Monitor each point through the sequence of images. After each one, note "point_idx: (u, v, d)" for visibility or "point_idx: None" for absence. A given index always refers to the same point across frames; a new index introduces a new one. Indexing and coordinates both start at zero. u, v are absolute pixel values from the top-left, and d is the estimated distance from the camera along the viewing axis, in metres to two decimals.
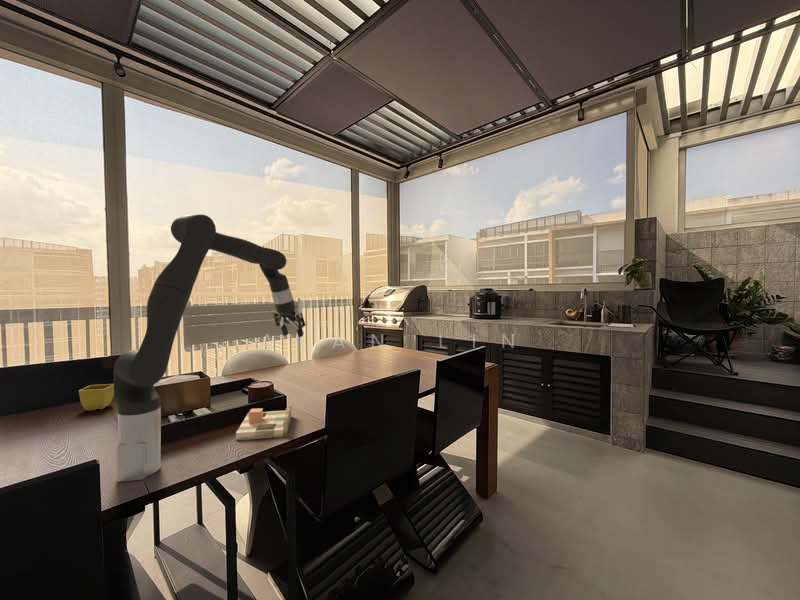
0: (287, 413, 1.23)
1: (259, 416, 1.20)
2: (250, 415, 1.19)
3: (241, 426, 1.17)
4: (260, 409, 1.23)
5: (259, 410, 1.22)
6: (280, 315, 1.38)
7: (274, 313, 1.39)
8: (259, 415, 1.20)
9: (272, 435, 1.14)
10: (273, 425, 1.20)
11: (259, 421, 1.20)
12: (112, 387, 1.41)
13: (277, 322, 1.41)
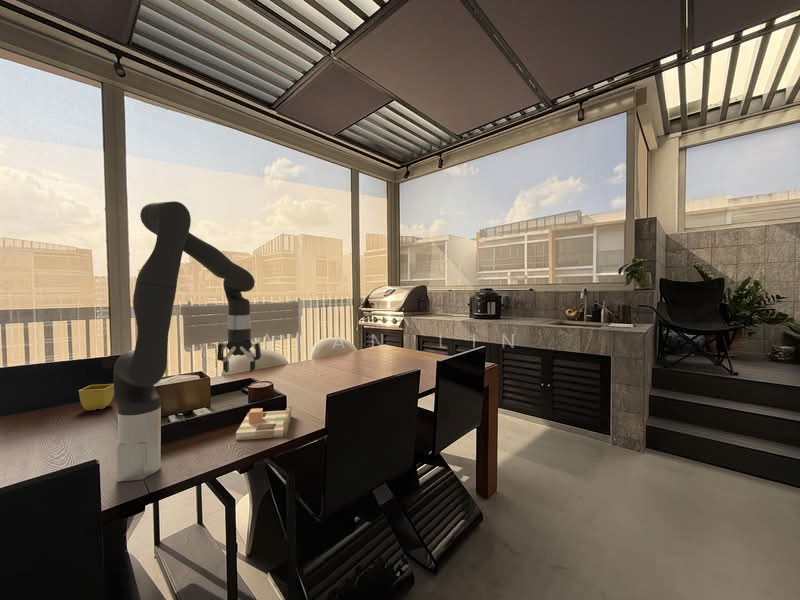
0: (287, 413, 1.23)
1: (259, 416, 1.20)
2: (250, 415, 1.19)
3: (241, 426, 1.17)
4: (260, 409, 1.23)
5: (259, 410, 1.22)
6: (229, 345, 1.20)
7: (220, 343, 1.19)
8: (259, 415, 1.20)
9: (272, 435, 1.14)
10: (273, 425, 1.20)
11: (259, 421, 1.20)
12: (112, 387, 1.41)
13: (221, 355, 1.19)
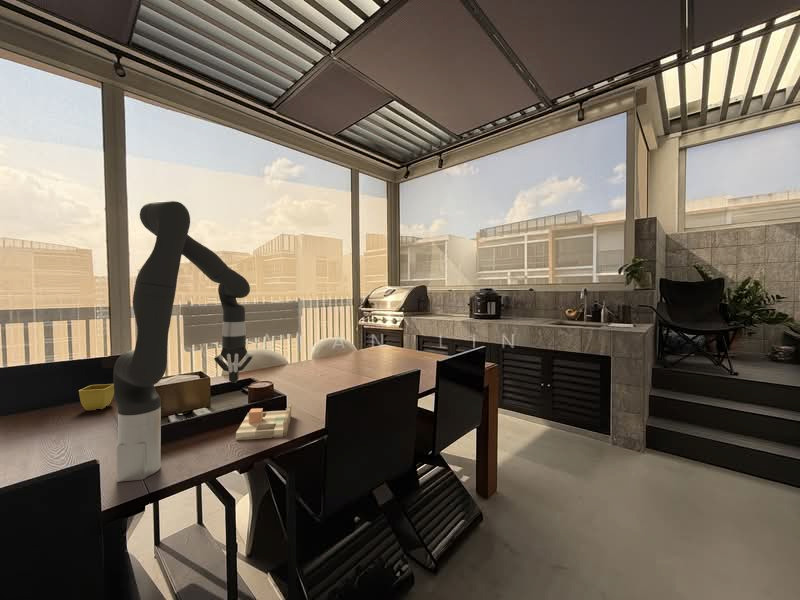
0: (287, 413, 1.23)
1: (259, 416, 1.20)
2: (250, 415, 1.19)
3: (241, 426, 1.17)
4: (260, 409, 1.23)
5: (259, 410, 1.22)
6: (224, 352, 1.18)
7: (215, 357, 1.17)
8: (259, 415, 1.20)
9: (272, 435, 1.14)
10: (273, 425, 1.20)
11: (259, 421, 1.20)
12: (112, 387, 1.41)
13: (224, 365, 1.18)
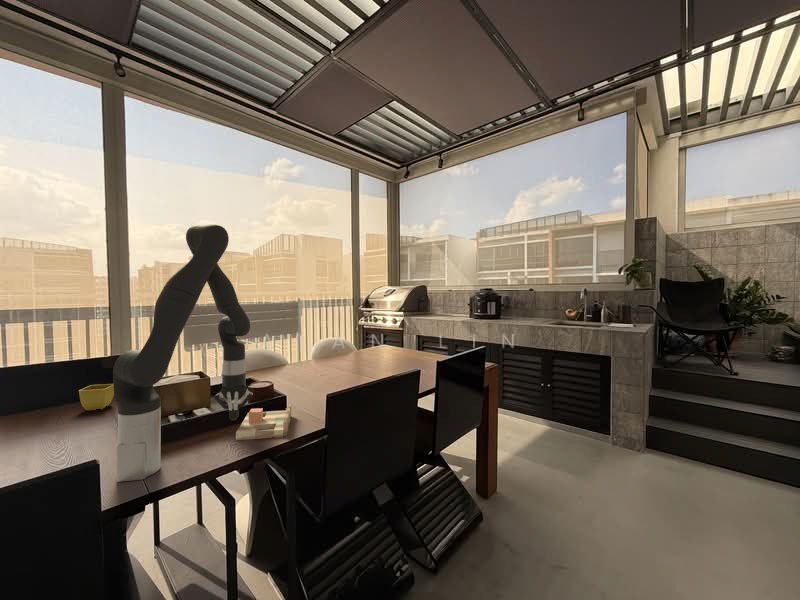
0: (287, 413, 1.23)
1: (259, 416, 1.20)
2: (250, 415, 1.19)
3: (241, 426, 1.17)
4: (260, 409, 1.23)
5: (259, 410, 1.22)
6: (224, 391, 1.18)
7: (215, 395, 1.17)
8: (259, 415, 1.20)
9: (272, 435, 1.14)
10: (273, 425, 1.20)
11: (259, 421, 1.20)
12: (112, 387, 1.41)
13: (224, 403, 1.18)
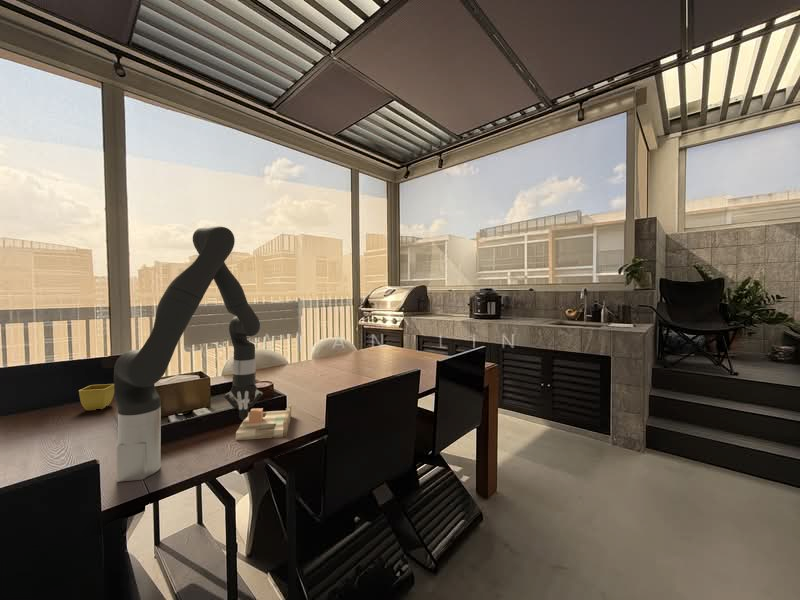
0: (287, 413, 1.23)
1: (259, 416, 1.20)
2: (250, 415, 1.19)
3: (241, 426, 1.17)
4: (260, 409, 1.23)
5: (259, 410, 1.22)
6: (234, 390, 1.19)
7: (225, 395, 1.18)
8: (259, 415, 1.20)
9: (272, 435, 1.14)
10: (273, 425, 1.20)
11: (259, 421, 1.20)
12: (112, 387, 1.41)
13: (234, 402, 1.19)
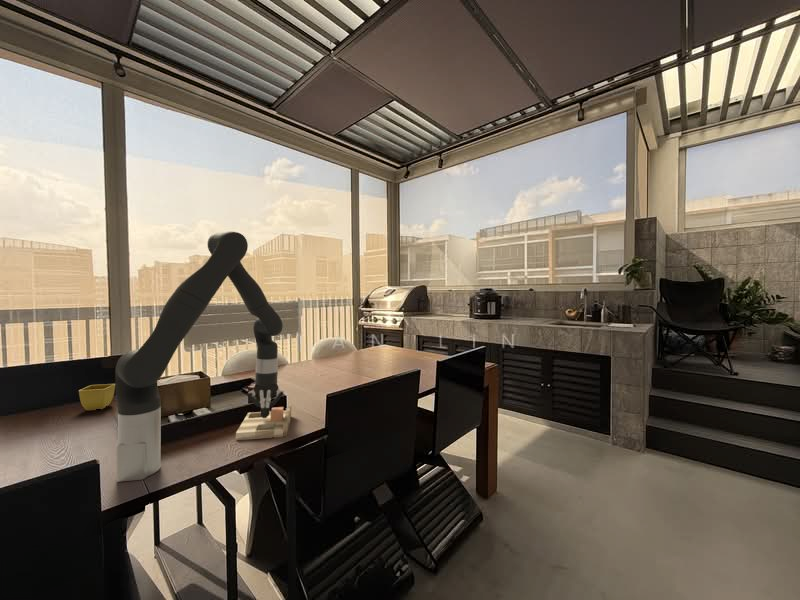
0: (287, 413, 1.23)
1: (280, 415, 1.22)
2: (272, 414, 1.21)
3: (241, 426, 1.17)
4: (281, 408, 1.24)
5: (280, 409, 1.23)
6: (256, 388, 1.21)
7: (248, 393, 1.20)
8: (280, 414, 1.22)
9: (272, 435, 1.14)
10: (273, 425, 1.20)
11: (280, 420, 1.22)
12: (112, 387, 1.41)
13: (256, 401, 1.21)
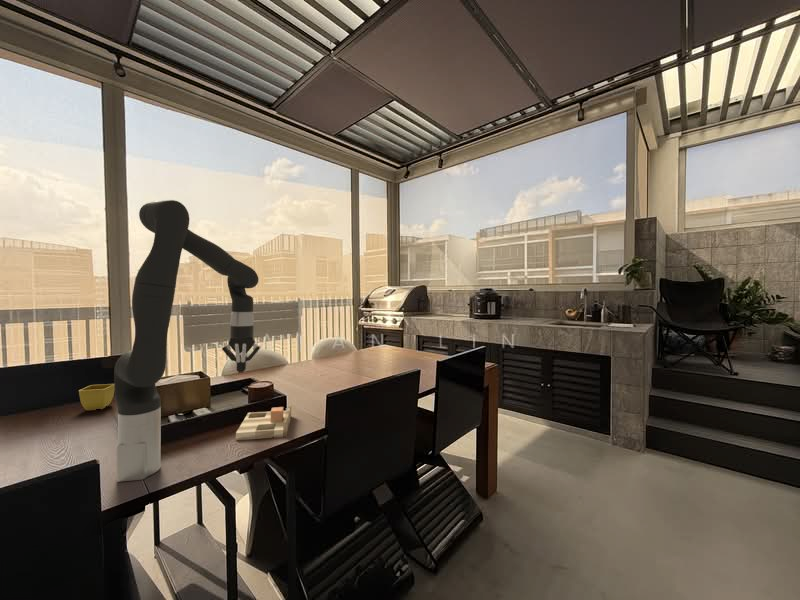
0: (287, 413, 1.23)
1: (280, 415, 1.22)
2: (272, 414, 1.21)
3: (241, 426, 1.17)
4: (281, 408, 1.24)
5: (280, 409, 1.23)
6: (231, 342, 1.18)
7: (223, 347, 1.18)
8: (280, 414, 1.22)
9: (272, 435, 1.14)
10: (273, 425, 1.20)
11: (280, 420, 1.22)
12: (112, 387, 1.41)
13: (231, 355, 1.18)
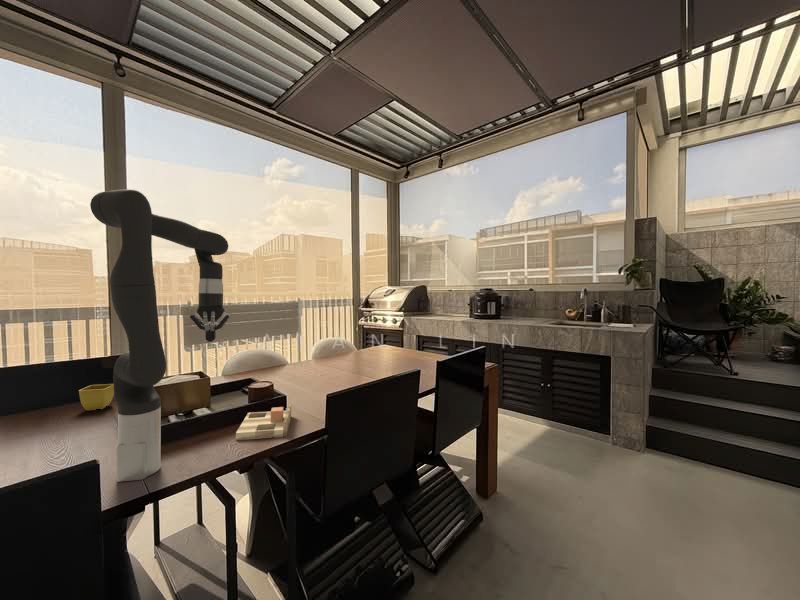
0: (287, 413, 1.23)
1: (280, 415, 1.22)
2: (272, 414, 1.21)
3: (241, 426, 1.17)
4: (281, 408, 1.24)
5: (280, 409, 1.23)
6: (200, 310, 1.15)
7: (191, 315, 1.15)
8: (280, 414, 1.22)
9: (272, 435, 1.14)
10: (273, 425, 1.20)
11: (280, 420, 1.22)
12: (112, 387, 1.41)
13: (200, 323, 1.15)
